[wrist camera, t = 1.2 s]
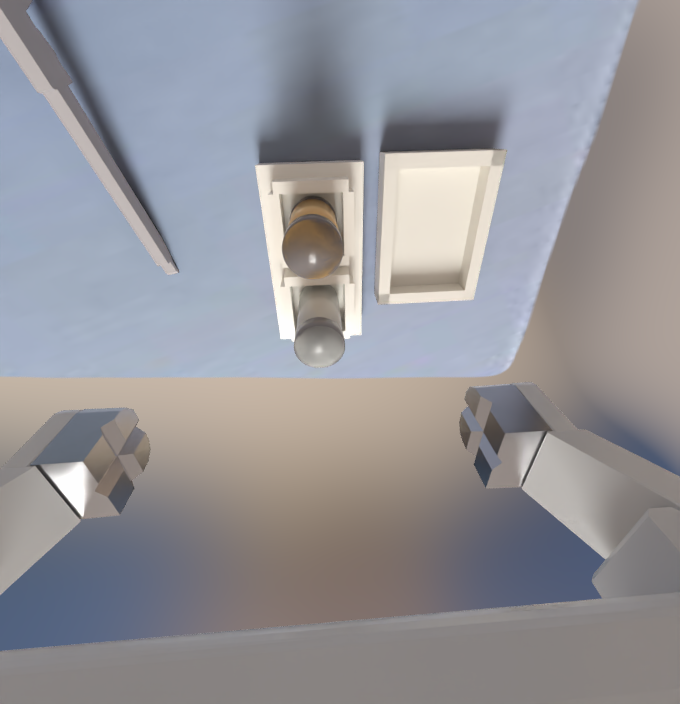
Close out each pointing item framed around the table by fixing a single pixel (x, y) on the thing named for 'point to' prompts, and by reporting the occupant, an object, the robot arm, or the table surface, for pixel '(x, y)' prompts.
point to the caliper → (75, 120)
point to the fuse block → (332, 291)
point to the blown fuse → (312, 239)
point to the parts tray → (433, 222)
